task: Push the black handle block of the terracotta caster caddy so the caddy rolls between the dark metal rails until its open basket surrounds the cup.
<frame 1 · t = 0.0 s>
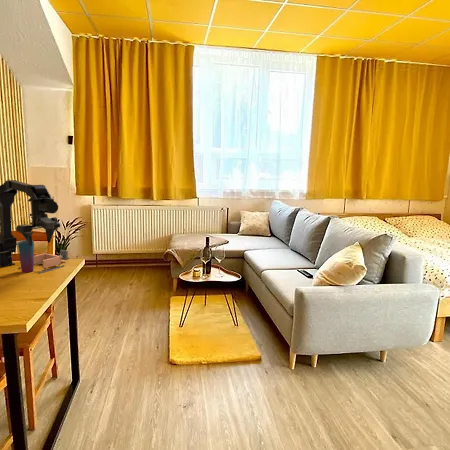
hand: (40, 244, 158), 15 cm above the table, tool pointing down, fingers open, 9 cm apart
caddy: (51, 258, 174), point 3 cm above the table, slide at 0.0 cm
rails: (42, 267, 170), on the table
cup: (27, 271, 163), on the table
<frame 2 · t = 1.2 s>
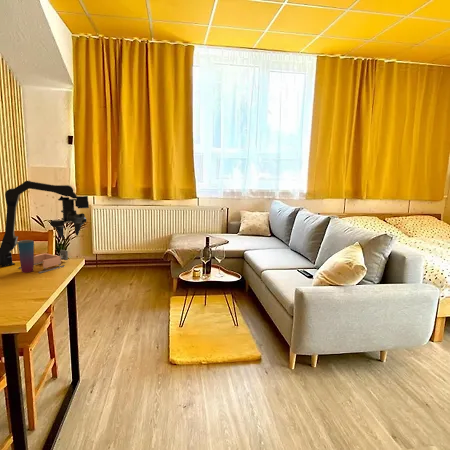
hand: (69, 236, 182), 13 cm above the table, tool pointing down, fingers open, 9 cm apart
nothing on the table moved.
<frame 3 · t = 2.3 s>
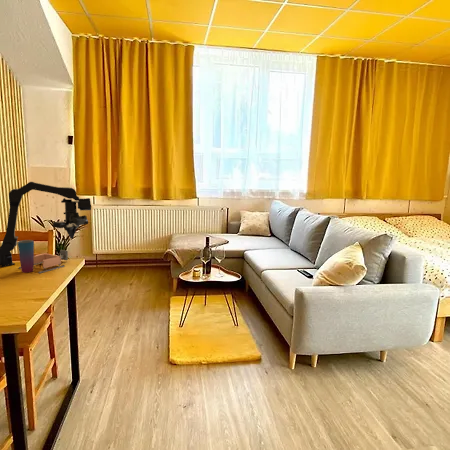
hand: (71, 238, 185), 12 cm above the table, tool pointing down, fingers closed
nothing on the table moved.
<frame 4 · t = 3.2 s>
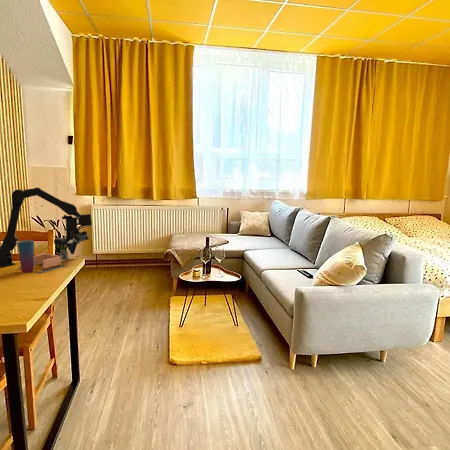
hand: (72, 254, 186), 3 cm above the table, tool pointing down, fingers closed
nothing on the table moved.
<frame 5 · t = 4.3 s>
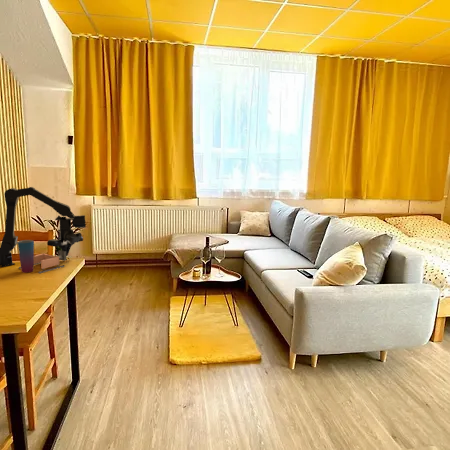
hand: (66, 255, 183), 3 cm above the table, tool pointing down, fingers closed
caddy: (49, 259, 174), point 3 cm above the table, slide at 1.0 cm, touching gripper
everything else where it was.
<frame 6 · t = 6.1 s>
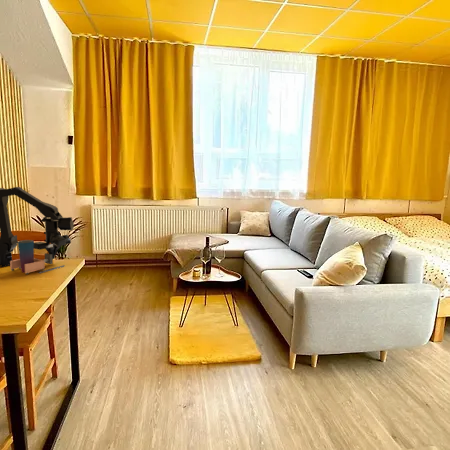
hand: (53, 258, 175), 3 cm above the table, tool pointing down, fingers closed
caddy: (34, 262, 166), point 3 cm above the table, slide at 9.2 cm, touching gripper
everything else where it was.
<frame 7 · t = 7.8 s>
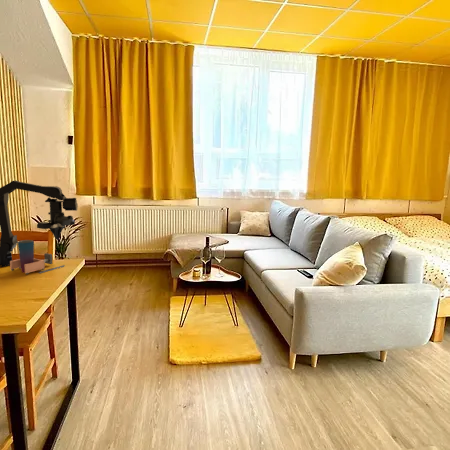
hand: (57, 239, 177), 13 cm above the table, tool pointing down, fingers closed
caddy: (34, 262, 166), point 3 cm above the table, slide at 9.3 cm
everything else where it was.
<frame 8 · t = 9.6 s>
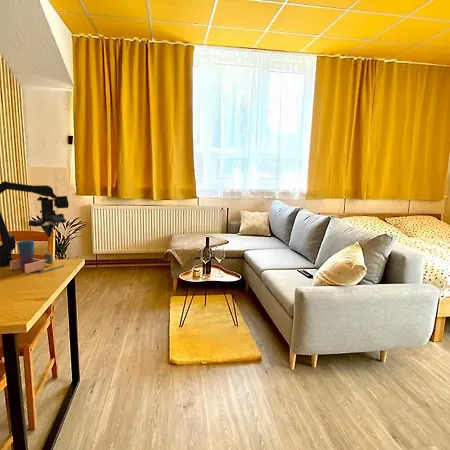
hand: (48, 237, 182), 13 cm above the table, tool pointing down, fingers closed
nothing on the table moved.
at the end: caddy slide at 9.3 cm; cup 0.4 cm from the caddy (horizontally); cup tilted 0° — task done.
